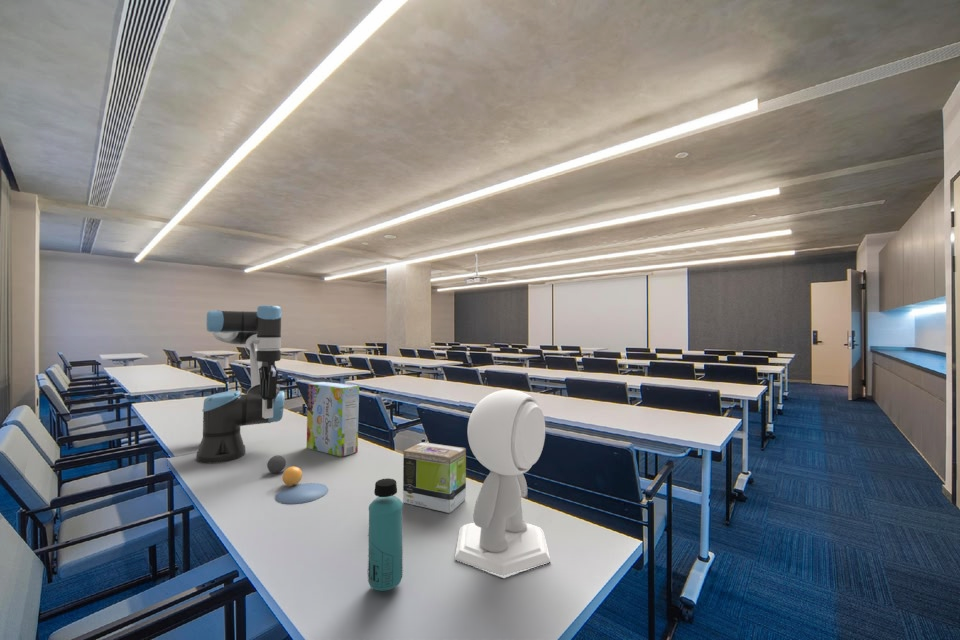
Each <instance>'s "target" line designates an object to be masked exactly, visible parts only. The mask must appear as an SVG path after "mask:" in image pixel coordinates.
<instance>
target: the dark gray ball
mask: <svg viewBox="0 0 960 640" xmlns="http://www.w3.org/2000/svg"><path fill="white" fill-rule="evenodd" d="M286 465H287V462H286V459H285V457H284V456H282V455H278V454H277V455H273V456H272V457H270V458H269V460H268V461H267V463H266V467H267V470H268V471H269V472H270V473H272V474H279V473H281V472H282V471H283V470H284V469H285V468H286Z"/></svg>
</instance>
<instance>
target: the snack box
mask: <svg viewBox="0 0 960 640" xmlns="http://www.w3.org/2000/svg"><path fill="white" fill-rule="evenodd" d="M359 403H360V385H355V384H348V383H347V384H346V383H338V382H328V381H317V382H310V383H307V413H306V415H307V416H306V449H309V450H314V451H318V452H321V453H326V454H329V455H332V456H336V457H340V458H343V457H345V456H350V455H352V454H356V453H358V450H359V449H358V446H359V441H358V440H359V406H360V405H359Z"/></svg>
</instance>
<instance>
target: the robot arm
mask: <svg viewBox="0 0 960 640" xmlns="http://www.w3.org/2000/svg"><path fill="white" fill-rule="evenodd" d="M256 309H257V310H256V311H248V310H247V311H245V310H243V311H238V310H235V311H234V310H208V311H207V313H206V332H208V333H212V335H213V337H214V338H215V339H216V340H218V341H220V342H223V343H226V344H230V345H245V347H246V349H247V350H249V359H250V360H249V362H250V386H251V387H250V388H249V389H248V390H247V392H246V393H245V394H244V393H243V394H242V392H241V390H228V391H222V392H218V393H213V394H210V395H208V396H206V397H205V399H204V400H203V407H202V412H203V413H202V415H203V416H202V437H201V441H200V444H199V447H198V450H197V452H196V456H195V457H196V459H195V461H197V462H198V463H201V464H216V463H217V464H218V463H225V462H230V461H233V460H236V459H237V460H238V459H239V458H241V456H242V457H243V456H244V455H246V445H245V444H244V440H243V437H242V434H241V427H243V426H253V425H260V424H261V425H262V424H271V423H277V422H280V421H281V420H282V418H283V416H284V407H285V401H286V400H285V399H286V398H285V396H286V393H285V391H283V390H281V388H280V387H279V385H278V377H279V376H278V375H279V370H278V369H277V366H276V362H279V361H281V359H282V357H281V356H282V354H281V353H282V351H281V350H280V349H281V348H282V334H281V333H282V316H283V315H282V308H281V306H280V305H279V306H278V305H269V304H268V305H262V304H261V305H258V306H257V308H256Z"/></svg>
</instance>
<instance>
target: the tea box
mask: <svg viewBox="0 0 960 640" xmlns="http://www.w3.org/2000/svg"><path fill="white" fill-rule="evenodd" d="M402 461H403V462H402V463H403V464H402V465H403V469H402V470H403V472H402V473H403V475H402V479H403V481H402V482H403V483H402V484H403V485H402V491H403V492H402V494H403V496H402V498H403V499H402V501H403V502H402V503H404V504H407V505H408V504H409V505H412V506H417V507H421V508H426V509H431V510H435V511H440V512H443V513H447V514H450V513H451V512H454V510H455V509H457V507H459V506H460V505H461V504H462V503H463V502H465V500H466V496H467V495H466V491H467V489H466V488H467V480H466V479H467V477H466V476H467V470H466V469H467V448H466V447H461V446H460V447H459V446H453V445H445V444H441V443H440V444H438V443H433V442H432V443H431V442H424V441H422V442H419V443H417V444H415V445H413V446H411V447H409V448H406V449H405V450H403V460H402Z"/></svg>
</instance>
